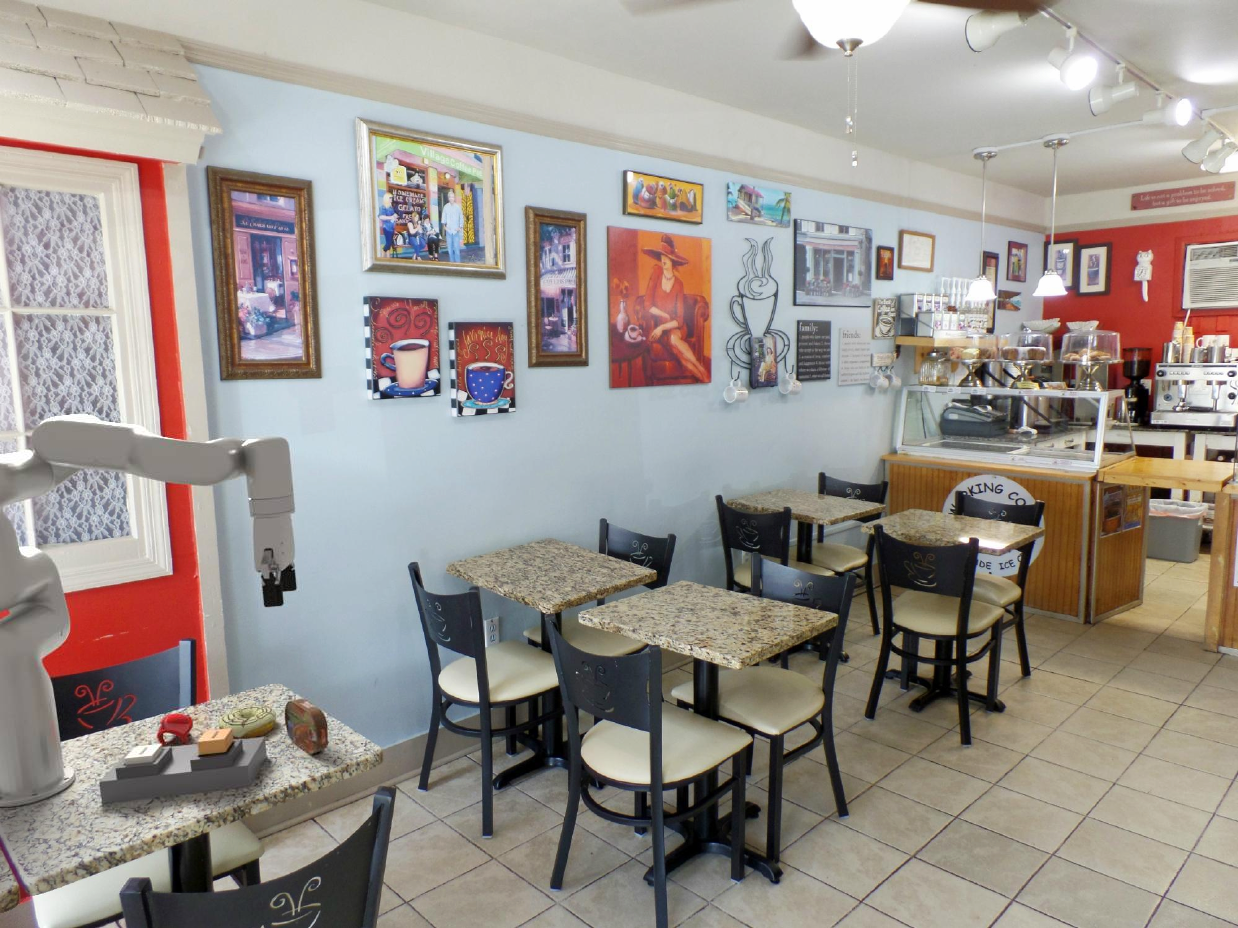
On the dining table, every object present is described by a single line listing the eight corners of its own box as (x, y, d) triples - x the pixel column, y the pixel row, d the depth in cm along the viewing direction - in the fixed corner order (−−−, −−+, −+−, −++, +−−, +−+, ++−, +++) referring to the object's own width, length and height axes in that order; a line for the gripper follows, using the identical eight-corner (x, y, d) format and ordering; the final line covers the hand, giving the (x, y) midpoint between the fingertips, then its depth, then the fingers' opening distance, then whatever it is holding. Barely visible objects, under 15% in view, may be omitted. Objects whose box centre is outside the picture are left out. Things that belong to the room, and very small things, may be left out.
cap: (187, 733, 156) (199, 707, 161) (154, 727, 155) (167, 701, 159) (185, 755, 161) (196, 728, 165) (153, 750, 159) (165, 723, 164)
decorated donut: (238, 747, 157) (236, 729, 156) (209, 734, 163) (207, 716, 163) (287, 726, 165) (285, 708, 165) (258, 714, 171) (256, 697, 171)
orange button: (198, 754, 140) (197, 741, 140) (207, 743, 145) (206, 729, 144) (225, 751, 141) (224, 738, 141) (233, 740, 145) (232, 727, 145)
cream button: (126, 771, 139) (124, 757, 138) (136, 759, 143) (135, 745, 143) (153, 768, 139) (151, 754, 139) (163, 756, 144) (161, 743, 143)
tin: (284, 736, 161) (281, 696, 159) (300, 730, 163) (296, 691, 162) (316, 761, 150) (312, 718, 149) (333, 754, 152) (329, 712, 151)
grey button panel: (102, 803, 138) (97, 770, 137) (130, 771, 148) (126, 741, 148) (249, 786, 141) (246, 754, 140) (266, 756, 152) (263, 726, 151)
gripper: (263, 499, 152) (272, 587, 154) (235, 516, 135) (245, 614, 137) (304, 497, 153) (312, 584, 155) (281, 513, 136) (291, 610, 139)
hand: (281, 598), depth 146 cm, fingers open, 9 cm apart
